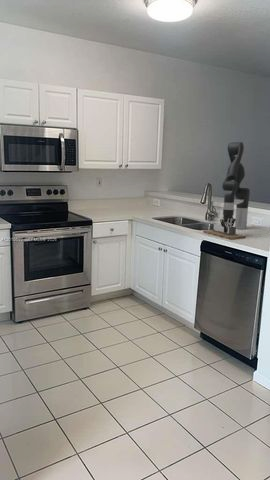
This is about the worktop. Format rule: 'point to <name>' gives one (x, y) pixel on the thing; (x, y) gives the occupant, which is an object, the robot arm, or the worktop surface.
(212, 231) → the tong rest
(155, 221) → the worktop surface
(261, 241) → the worktop surface
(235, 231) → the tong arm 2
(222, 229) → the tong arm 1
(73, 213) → the worktop surface
